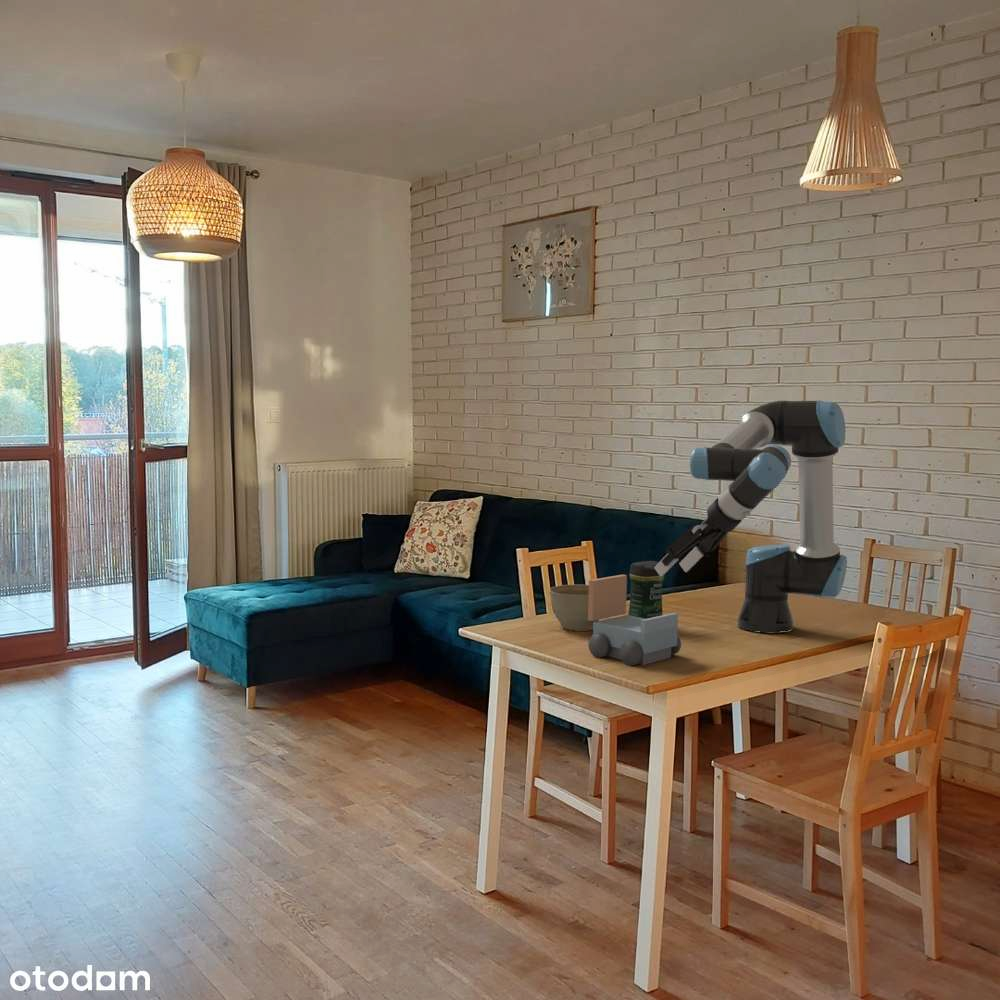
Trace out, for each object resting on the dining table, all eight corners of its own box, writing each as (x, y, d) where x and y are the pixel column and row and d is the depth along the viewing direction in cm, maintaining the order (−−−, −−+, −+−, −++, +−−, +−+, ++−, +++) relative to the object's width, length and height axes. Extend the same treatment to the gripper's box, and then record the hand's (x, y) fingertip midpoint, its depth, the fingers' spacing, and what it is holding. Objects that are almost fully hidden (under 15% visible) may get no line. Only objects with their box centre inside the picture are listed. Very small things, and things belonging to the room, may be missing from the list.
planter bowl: (575, 619, 292) (576, 582, 291) (618, 628, 280) (619, 590, 279) (536, 627, 281) (537, 588, 280) (579, 637, 269) (580, 597, 268)
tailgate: (625, 613, 260) (626, 575, 259) (592, 620, 251) (593, 580, 250) (620, 612, 261) (621, 574, 260) (586, 619, 253) (587, 579, 252)
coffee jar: (643, 632, 277) (644, 564, 275) (623, 626, 283) (624, 560, 281) (668, 627, 283) (670, 561, 281) (647, 622, 289) (649, 558, 287)
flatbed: (681, 656, 250) (682, 612, 249) (638, 667, 239) (639, 621, 238) (630, 644, 262) (631, 602, 261) (587, 655, 250) (588, 611, 249)
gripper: (711, 525, 219) (650, 587, 232) (766, 518, 234) (706, 577, 247) (691, 498, 222) (633, 561, 235) (747, 493, 237) (689, 553, 250)
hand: (670, 569), depth 241 cm, fingers open, 9 cm apart
